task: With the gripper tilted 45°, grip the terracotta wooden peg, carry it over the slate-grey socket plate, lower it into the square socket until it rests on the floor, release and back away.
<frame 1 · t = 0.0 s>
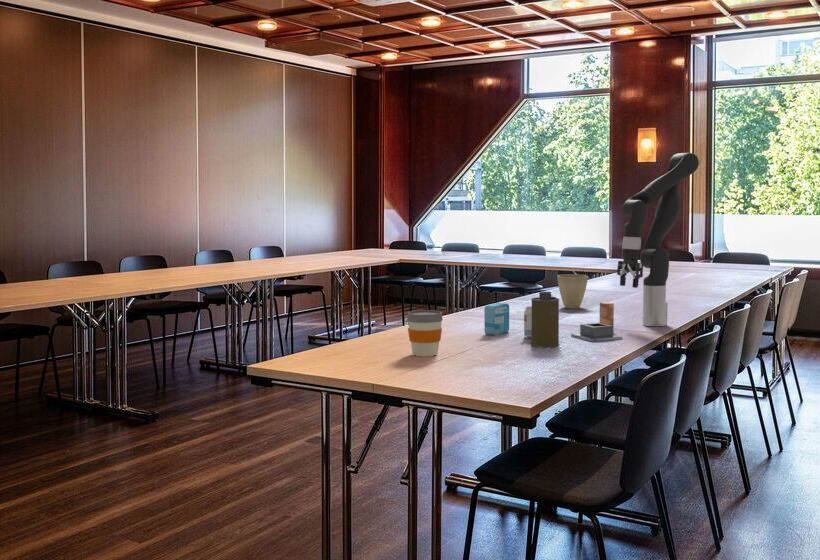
hand: (628, 286, 350), 17 cm above the table, tool pointing down, fingers open, 8 cm apart
beverage can: (532, 338, 329), on the table
terracotta peg: (606, 332, 340), on the table
reusable coffee cup: (425, 354, 297), on the table
socket plate: (596, 337, 327), on the table
canister: (545, 345, 313), on the table
plant pot: (572, 308, 415), on the table
data package: (497, 334, 340), on the table
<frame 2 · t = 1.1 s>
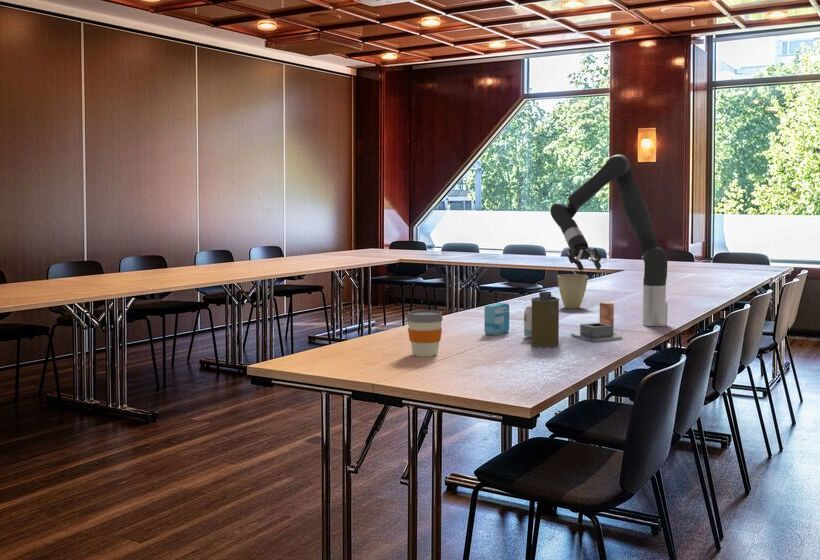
hand: (590, 269, 348), 25 cm above the table, tool tilted 45°, fingers open, 8 cm apart
nothing on the table moved.
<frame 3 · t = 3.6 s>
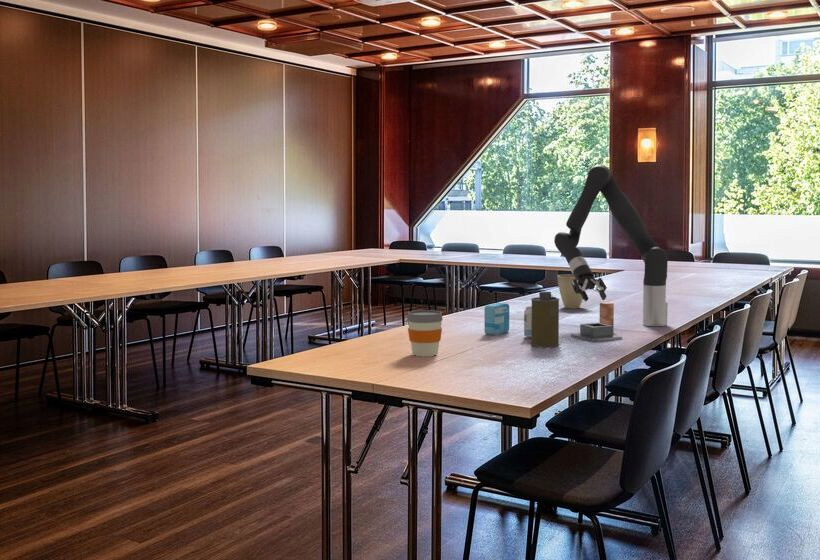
hand: (595, 299, 345), 13 cm above the table, tool tilted 45°, fingers open, 8 cm apart
nothing on the table moved.
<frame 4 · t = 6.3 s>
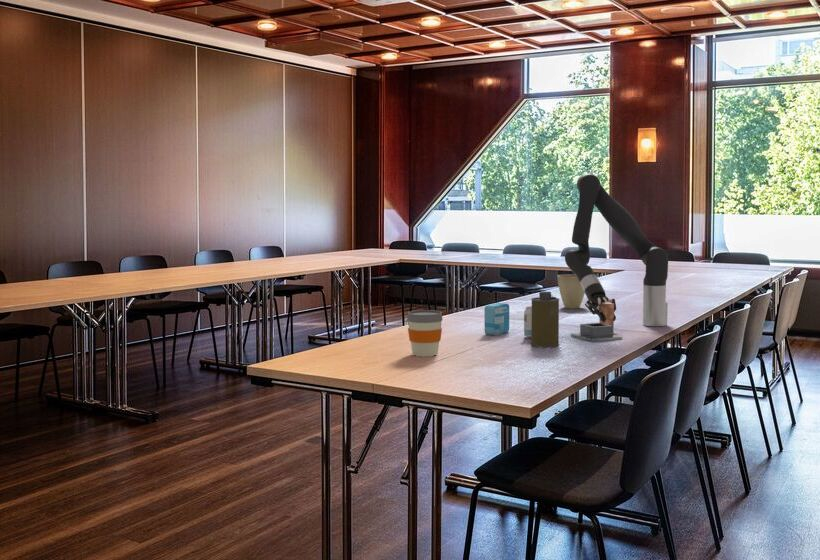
hand: (609, 320, 337), 5 cm above the table, tool tilted 45°, fingers closed on terracotta peg, 4 cm apart
terracotta peg: (606, 332, 340), on the table, touching gripper
everything else where it was.
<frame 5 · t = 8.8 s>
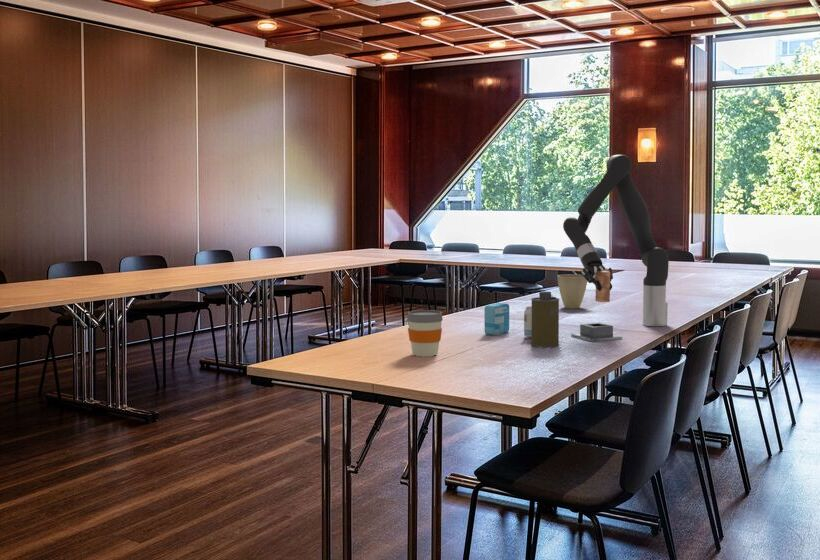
hand: (605, 289, 333), 18 cm above the table, tool tilted 45°, fingers closed on terracotta peg, 4 cm apart
terracotta peg: (602, 301, 335), point 13 cm above the table, touching gripper
everything else where it was.
when the fingers open (7 cm above the table, at t = 11.4 s): terracotta peg drops 1 cm, resting on socket plate.
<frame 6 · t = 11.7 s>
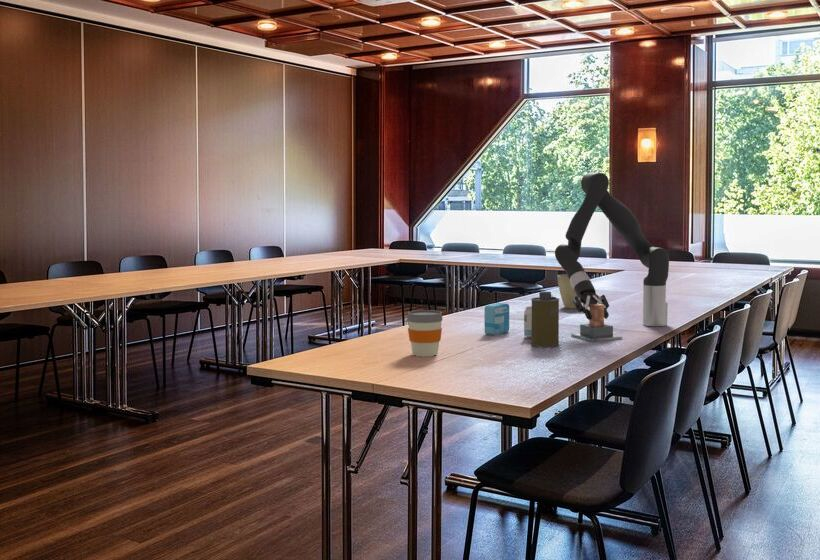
hand: (598, 318, 325), 8 cm above the table, tool tilted 45°, fingers open, 7 cm apart
terracotta peg: (596, 335, 327), point 1 cm above the table, touching socket plate
everything else where it was.
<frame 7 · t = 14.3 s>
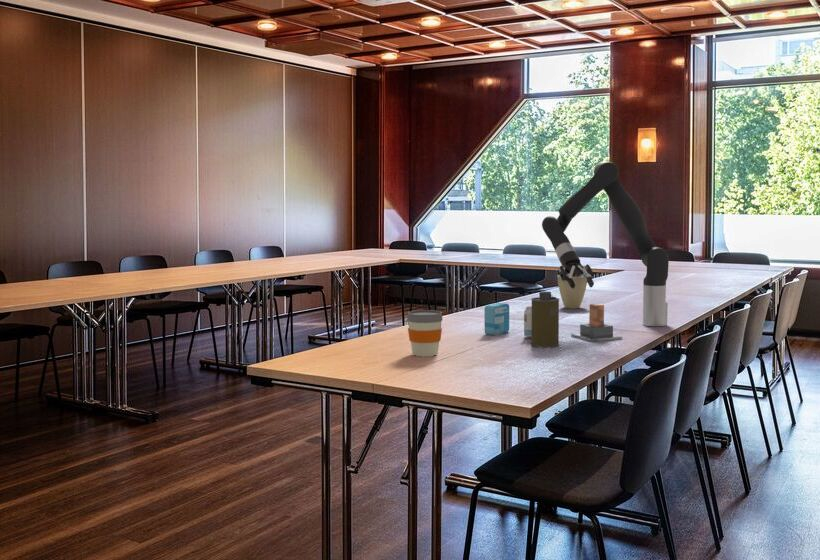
hand: (583, 286, 334), 19 cm above the table, tool tilted 45°, fingers open, 8 cm apart
nothing on the table moved.
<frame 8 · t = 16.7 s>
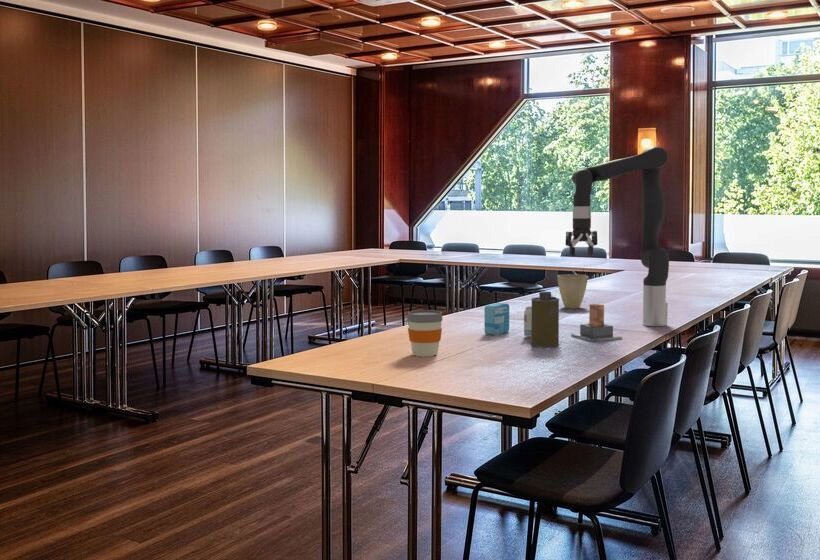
hand: (581, 255, 352), 30 cm above the table, tool pointing down, fingers open, 8 cm apart
nothing on the table moved.
at the end: terracotta peg 0.1 cm off-centre on the socket plate, point 1.0 cm above the socket plate's base; terracotta peg tilted 0°; the gripper is holding nothing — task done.
